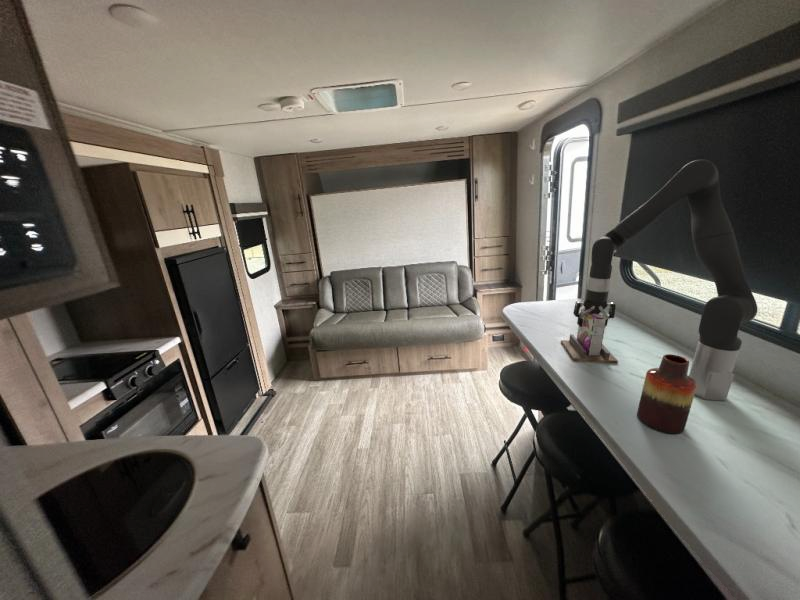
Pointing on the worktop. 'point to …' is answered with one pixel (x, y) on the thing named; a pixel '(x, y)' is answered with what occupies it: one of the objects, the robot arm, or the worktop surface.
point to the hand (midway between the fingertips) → (591, 326)
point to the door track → (581, 355)
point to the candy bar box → (592, 333)
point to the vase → (667, 396)
